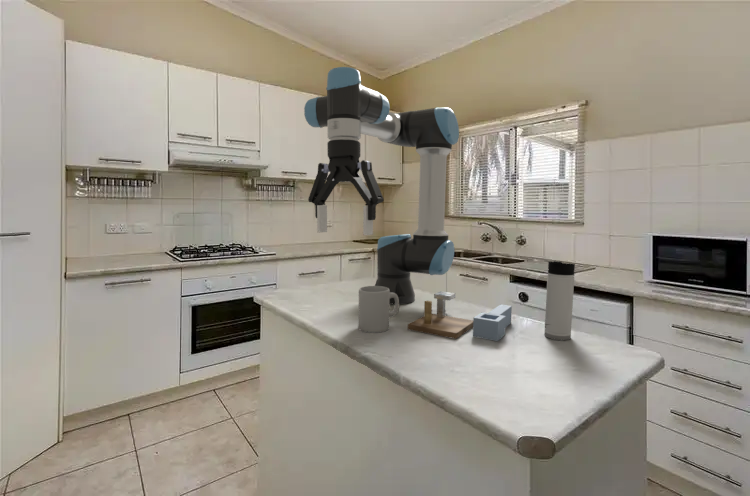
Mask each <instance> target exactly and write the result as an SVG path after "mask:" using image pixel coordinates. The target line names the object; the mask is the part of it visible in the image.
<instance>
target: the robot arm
mask: <svg viewBox="0 0 750 496" xmlns="http://www.w3.org/2000/svg"><path fill="white" fill-rule="evenodd" d="M326 79H327V80H326V81H327V82H326V84H327V85H326V95H324V96H316V97H313V98H310V99H308V100H307V101H306V103H305V104H304V108H303V110H304V111H303V112H304V118H305V121H306V122H307V124H308V125H309V126H310V127H312V128H320V129H322V128H327V139H328V141H327V144H326V145H327V158H328V159H329V161H328V163H323V162H319V163H318V164H317V174H316V176H315V179H314V182H313V185H312V188H311V191H310V194H309V196H308V199H307V200H308V201H307V202H309V203H311V204H313V205H314V207H315V208H314V210H315V211H314V215H315V218H316V219H317V220H316V224H317V225H316V226H317V228H316V231H317V233H327V232H328V205H326V202H327V200H328V198H329V197H330V195H331V194H332V192H333V190H334V188H335V187H336V185H337V184H339V183H346V182H348V183H351V184H352V185H353V186H354V188H355V190H356V191H357V192H358V194H359V195H360V197H361V198H362V200H363V201H364V203H365V204H364V205H363V206H362V207H363V210H362V213H363V215H362V217H363V220H362V225H363V226H362V227H363V232H362V233H363V236H373V235H374V221H376V217H377V205H379V204H380V203H383V202H384V197H383V194H382V191H381V189H380V186H379V184H378V182H377V180H376V177H375V175H374V172H373V166H372V161H370V160H364V159H362V160H361V161H360V158H361V142H360V141H359V140H360V139H361V138H362V137H361V136H362V135H365V136H369V137H373V138H377V139H378V140H379V141H381V142H382V143H386V144H390V145H395V146H399V147H406V148H415V152H416V153H417V154H418V155H419V157H420V158H419V187H418V188H419V189H418V215H417V216H418V218H417V219H418V222H417V229H416V231H414V232H413V233H412V234H413V235H412V236H413V237H412V236H411V234H410V233H404V234H396V235H395V234H394V235H386V236H381V237H379V238H378V239H377V248H376V251H377V253H376V254H377V258H376V259H377V261H376V262H377V268H376V269H377V270H376V271H377V273H376V274H377V277H376V282H375V285H374V286H382V287H387V288H389V290H390V292H392V293H396V294H397V296H398V299H399V305H406V304H411V303H413V302H415V300H416V297H415V296H416V294H415V291H414V286H413V284H412V281H411V280H412V279H411V273H413V274H423V275H424V274H425V275H430V276H433V275H434V276H442V275H445V274H446V273H447V272H449V270H450V268H452V267H451V266H452V264H453V261H454V258H455V244H454V242H453V241H452V240H451V239H449V233H448V232H446V230H445V215H446V214H445V213H446V212H445V210H446V209H445V208H446V185H447V184H446V181H447V161H448V160H447V157H448V155H449V154H450V153H451V152H452V151H453V150H452V148H453V147H452V146H453V145H456V144H457V143H458V142H459V138H460V128H459V123H458V118H457V117H456V113H454V111H453V110H452V109H451V108H450V107H447V106H445V107H434V108H433V107H432V108H425V109H418V110H410V111H402V112H396V113H395V112H390V107H391V106H390V102H389V100H388V98H387V97H386V96H385V95H383V94H382V93H380V92H379V91H377V90H374V89H371V88H368V87H366V86H364V85H363V84H362V79H361V73H360V71H359V70H358V69H357V68H354V67H350V66H349V67H348V66H338V67H333V68H332V69H329V70H328V73H327V78H326ZM359 171H360V172H361V173H362V176H361V175H360V173H359ZM363 179H364V181H365V182H364V181H363ZM389 305H395V299H394V298H390V303H389Z"/></svg>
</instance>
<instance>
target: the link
mask: <svg viewBox="0 0 750 496" xmlns="http://www.w3.org/2000/svg"><path fill="white" fill-rule="evenodd" d="M512 308H513V306H512V305H508V304H502V303H500V304H499V305H498V306H496V307H494V308H492V310H490V311H489V312H480V313H479V314H477V315H475V316H474V317H473V319H472V320H473V328H472V337H474V338H478V339H485V340H490V341H494V342H498V341H500V340H501V338H503V337H504V336H505V334H506V328H507V327H508V326H509V325H510V324H512Z"/></svg>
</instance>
